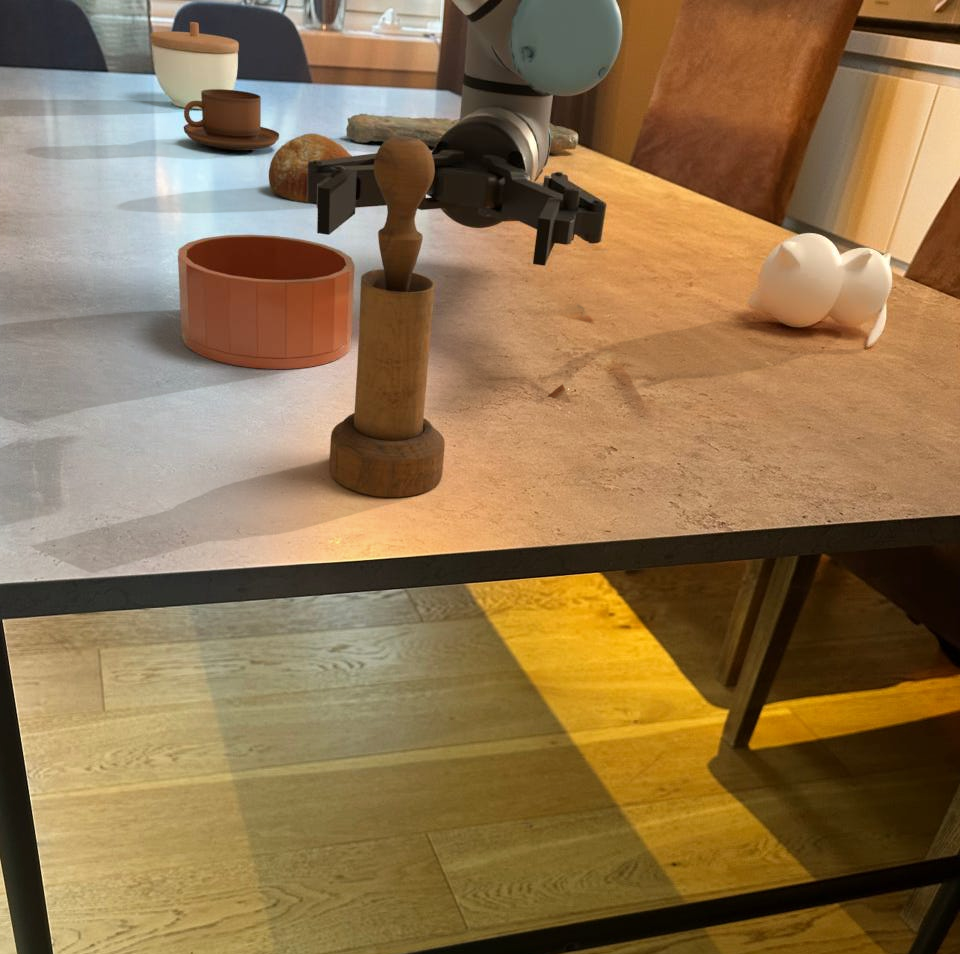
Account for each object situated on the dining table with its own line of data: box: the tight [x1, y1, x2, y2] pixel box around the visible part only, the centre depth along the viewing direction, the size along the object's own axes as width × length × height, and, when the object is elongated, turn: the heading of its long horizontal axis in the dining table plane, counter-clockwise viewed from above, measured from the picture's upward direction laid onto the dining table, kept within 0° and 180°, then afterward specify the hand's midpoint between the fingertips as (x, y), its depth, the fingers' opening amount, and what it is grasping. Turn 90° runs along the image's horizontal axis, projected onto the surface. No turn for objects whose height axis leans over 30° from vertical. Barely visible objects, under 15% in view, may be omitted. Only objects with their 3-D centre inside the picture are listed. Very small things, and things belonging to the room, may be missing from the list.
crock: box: [177, 234, 356, 370], centre depth 78 cm, size 12×12×6 cm
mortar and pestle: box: [328, 136, 446, 498], centre depth 58 cm, size 7×6×18 cm
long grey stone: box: [345, 113, 579, 152], centre depth 157 cm, size 35×5×10 cm
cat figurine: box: [746, 232, 893, 348], centre depth 95 cm, size 9×11×12 cm
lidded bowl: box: [149, 21, 240, 111], centre depth 161 cm, size 13×13×11 cm
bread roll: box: [268, 132, 352, 204], centre depth 121 cm, size 10×10×8 cm
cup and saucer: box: [183, 89, 280, 151], centre depth 139 cm, size 12×12×6 cm
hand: (431, 226), depth 66 cm, fingers open, 13 cm apart
